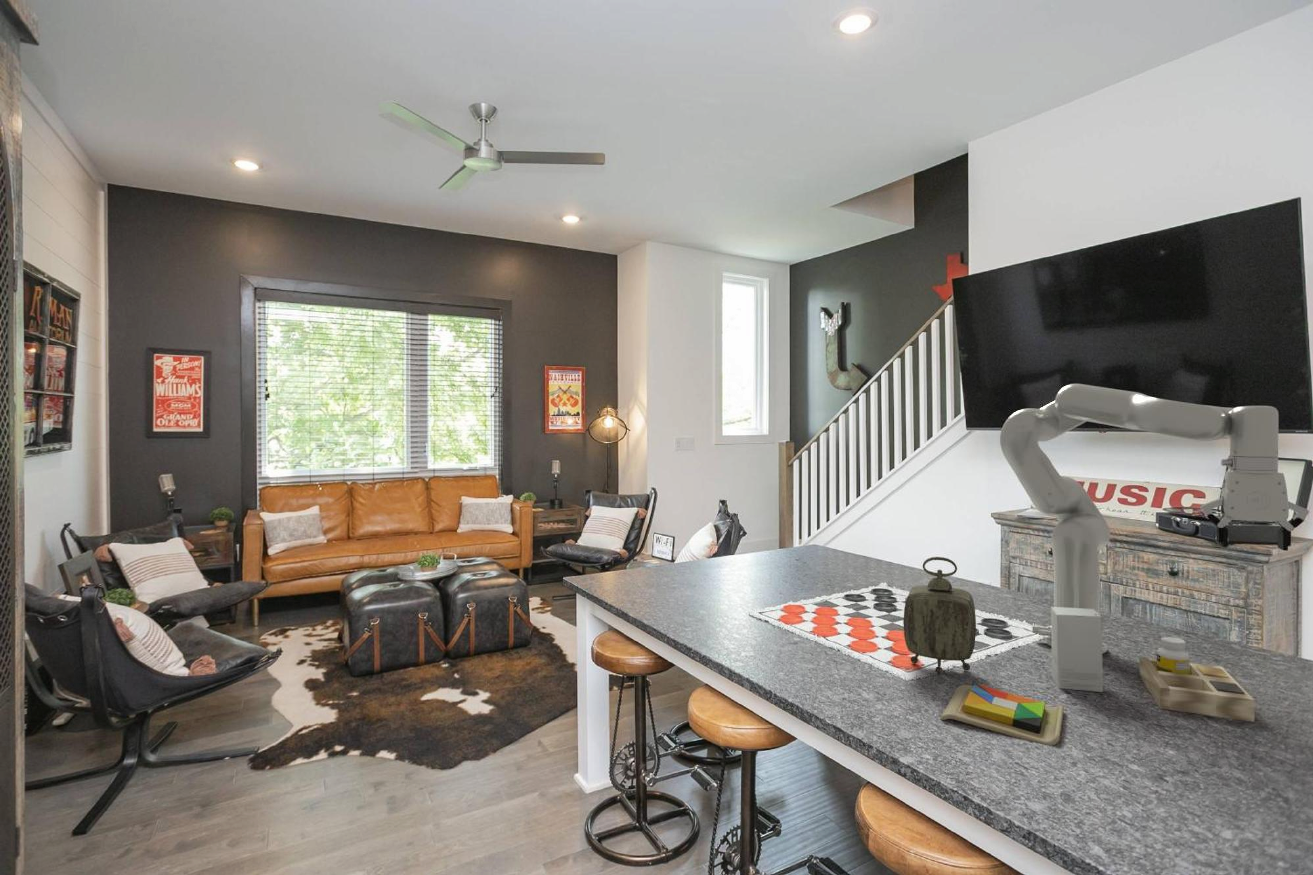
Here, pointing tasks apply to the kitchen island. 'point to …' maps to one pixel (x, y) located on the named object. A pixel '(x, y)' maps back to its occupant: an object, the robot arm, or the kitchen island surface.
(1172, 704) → the socket block
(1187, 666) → the supplement bottle
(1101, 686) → the skincare box
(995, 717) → the wooden puzzle
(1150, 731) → the kitchen island surface
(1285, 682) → the kitchen island surface
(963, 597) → the tabletop clock
